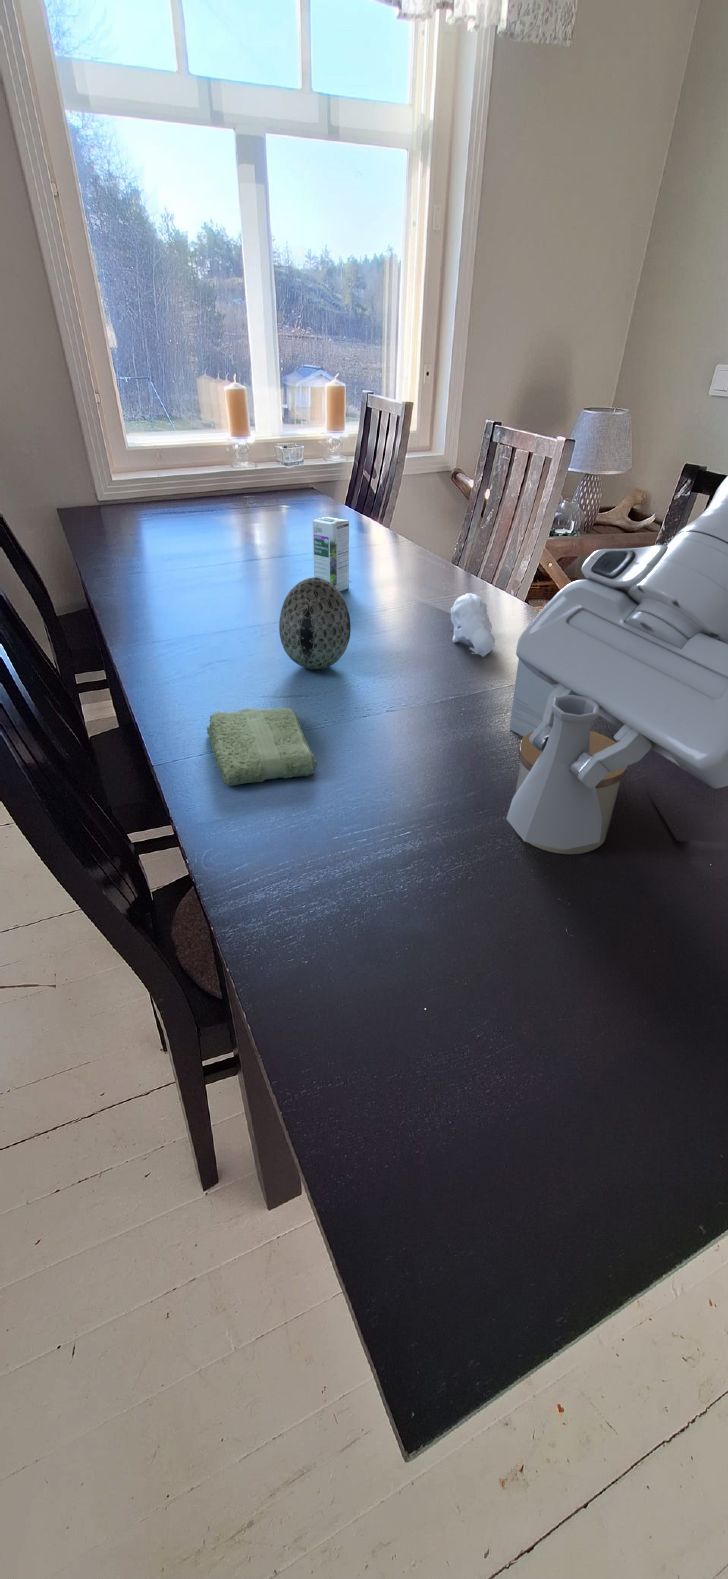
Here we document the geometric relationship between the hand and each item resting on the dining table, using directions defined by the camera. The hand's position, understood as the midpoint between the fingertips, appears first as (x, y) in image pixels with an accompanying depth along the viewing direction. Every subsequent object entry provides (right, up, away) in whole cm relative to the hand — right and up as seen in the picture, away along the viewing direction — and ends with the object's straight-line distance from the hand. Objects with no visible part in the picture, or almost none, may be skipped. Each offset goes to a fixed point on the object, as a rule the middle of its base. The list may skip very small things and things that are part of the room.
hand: (557, 764), depth 49 cm
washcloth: (-28, +3, +45) cm, 53 cm away
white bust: (+6, +24, +76) cm, 80 cm away
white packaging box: (+12, +6, +50) cm, 52 cm away
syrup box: (-21, +42, +102) cm, 112 cm away
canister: (+9, -6, +32) cm, 34 cm away
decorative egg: (-22, +19, +68) cm, 74 cm away
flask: (+1, -5, +3) cm, 6 cm away
